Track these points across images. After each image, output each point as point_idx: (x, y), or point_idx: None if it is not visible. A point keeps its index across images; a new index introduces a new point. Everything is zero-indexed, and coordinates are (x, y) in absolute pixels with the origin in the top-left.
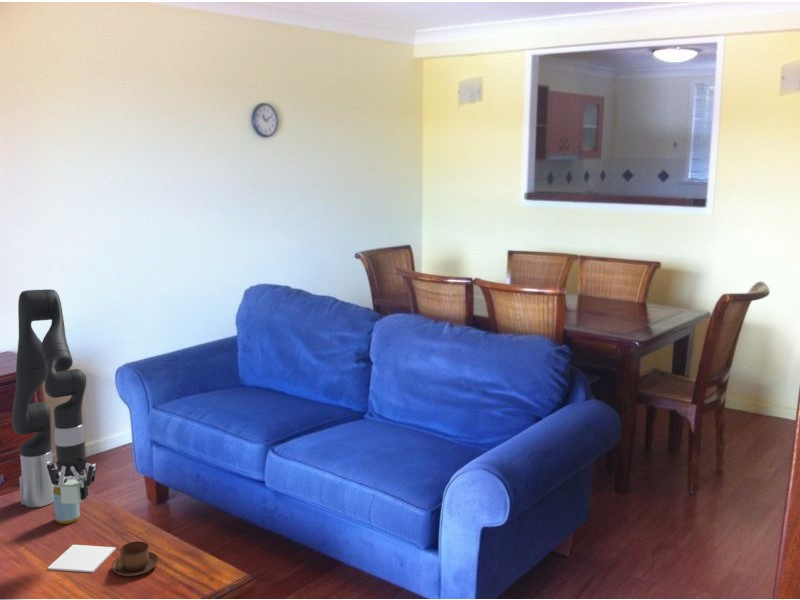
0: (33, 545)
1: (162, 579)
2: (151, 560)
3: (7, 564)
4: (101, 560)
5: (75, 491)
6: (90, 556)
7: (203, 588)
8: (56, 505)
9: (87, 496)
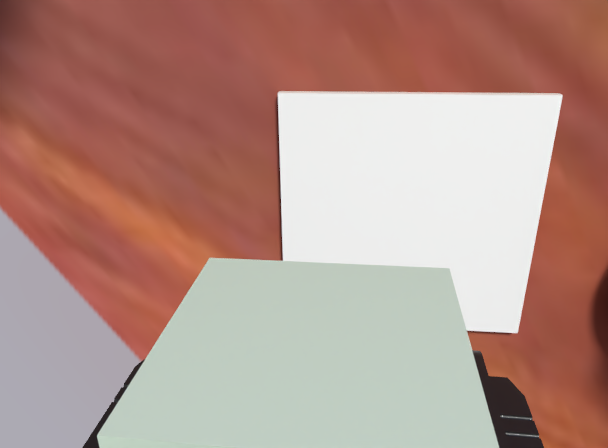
0: (56, 108)
1: None
2: None
3: (80, 290)
4: (525, 243)
5: None
6: (446, 210)
7: None
8: None
9: (449, 270)
